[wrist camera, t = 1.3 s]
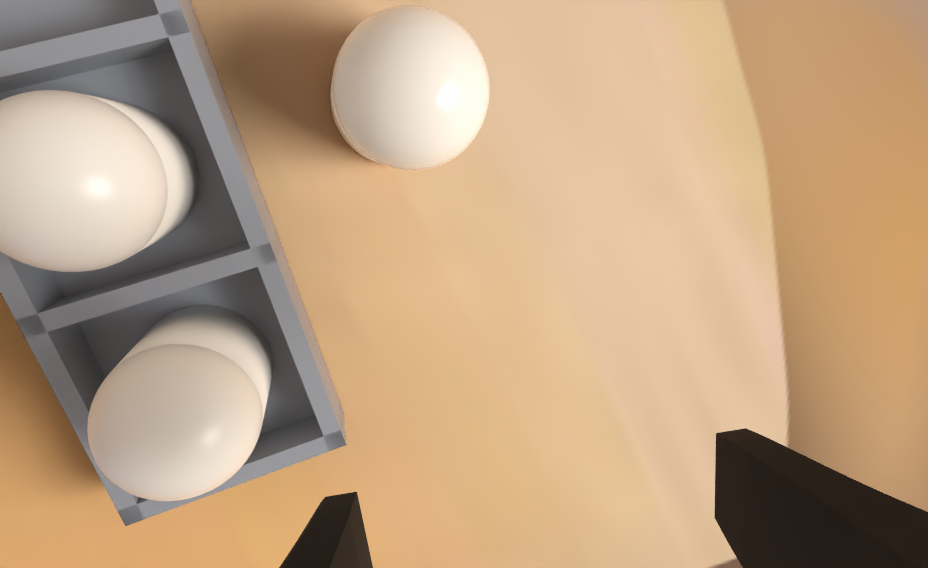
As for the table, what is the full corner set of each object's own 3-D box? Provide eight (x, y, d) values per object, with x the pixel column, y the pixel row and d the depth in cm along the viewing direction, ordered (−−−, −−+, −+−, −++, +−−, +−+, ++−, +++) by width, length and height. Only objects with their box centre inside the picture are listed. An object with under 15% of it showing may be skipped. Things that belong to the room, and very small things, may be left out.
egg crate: (147, 483, 21) (71, 632, 15) (-189, -179, 15) (-571, -422, 9) (343, 412, 22) (352, 522, 16) (105, -228, 16) (-38, -475, 10)
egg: (353, 180, 20) (366, 195, 14) (311, 51, 19) (307, 10, 13) (470, 146, 21) (527, 147, 15) (437, 19, 20) (485, -33, 14)
